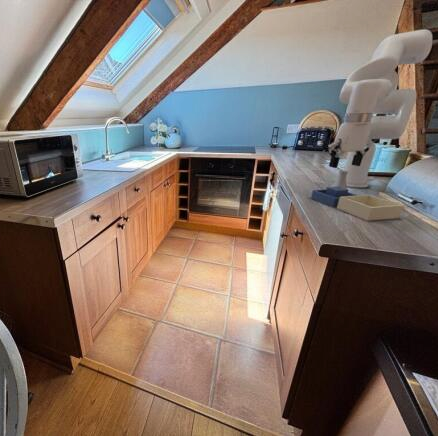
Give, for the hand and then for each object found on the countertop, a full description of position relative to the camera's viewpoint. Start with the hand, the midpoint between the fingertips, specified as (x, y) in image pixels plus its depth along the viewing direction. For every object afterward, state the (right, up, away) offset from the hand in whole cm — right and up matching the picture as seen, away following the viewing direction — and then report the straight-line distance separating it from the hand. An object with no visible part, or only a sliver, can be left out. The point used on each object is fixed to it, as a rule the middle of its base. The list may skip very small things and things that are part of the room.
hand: (344, 166), depth 94 cm
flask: (+9, -9, +15) cm, 20 cm away
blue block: (-1, -13, +4) cm, 14 cm away
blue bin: (-1, -13, +4) cm, 14 cm away
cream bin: (+2, -18, -7) cm, 20 cm away
